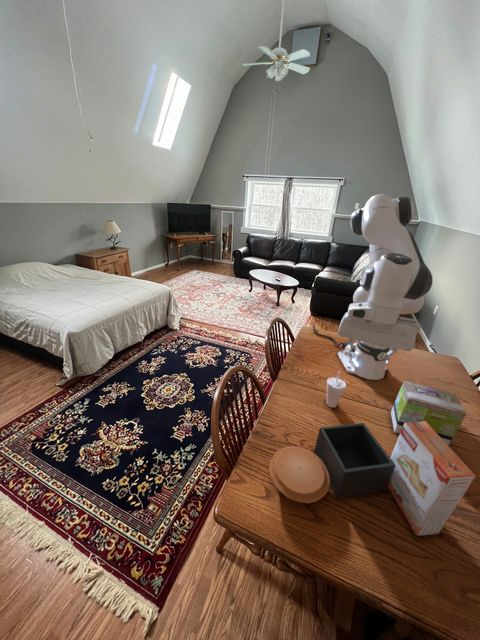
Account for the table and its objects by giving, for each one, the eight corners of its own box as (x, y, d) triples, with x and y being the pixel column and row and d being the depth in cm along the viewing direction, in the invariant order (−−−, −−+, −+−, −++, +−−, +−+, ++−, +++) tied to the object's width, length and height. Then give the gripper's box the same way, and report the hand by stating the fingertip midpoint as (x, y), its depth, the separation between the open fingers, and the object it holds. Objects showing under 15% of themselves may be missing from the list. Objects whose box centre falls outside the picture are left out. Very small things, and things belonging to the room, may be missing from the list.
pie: (325, 461, 76) (328, 449, 74) (329, 519, 63) (333, 506, 61) (271, 449, 79) (273, 437, 77) (264, 502, 66) (266, 489, 63)
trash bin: (314, 451, 79) (319, 427, 75) (355, 446, 82) (363, 422, 77) (336, 498, 67) (344, 472, 63) (384, 490, 70) (395, 465, 65)
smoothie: (340, 400, 100) (348, 369, 94) (340, 412, 94) (349, 380, 88) (322, 396, 102) (329, 365, 96) (321, 407, 96) (329, 375, 90)
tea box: (393, 433, 87) (407, 398, 80) (390, 412, 95) (402, 379, 89) (448, 449, 82) (467, 413, 76) (439, 426, 90) (456, 391, 84)
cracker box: (380, 477, 73) (403, 420, 64) (400, 476, 73) (426, 420, 64) (414, 537, 60) (449, 476, 51) (439, 535, 61) (478, 475, 52)
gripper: (420, 316, 75) (405, 359, 80) (344, 303, 82) (335, 343, 87) (425, 324, 70) (408, 369, 75) (343, 309, 76) (333, 351, 82)
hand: (368, 355), depth 81 cm, fingers open, 8 cm apart
